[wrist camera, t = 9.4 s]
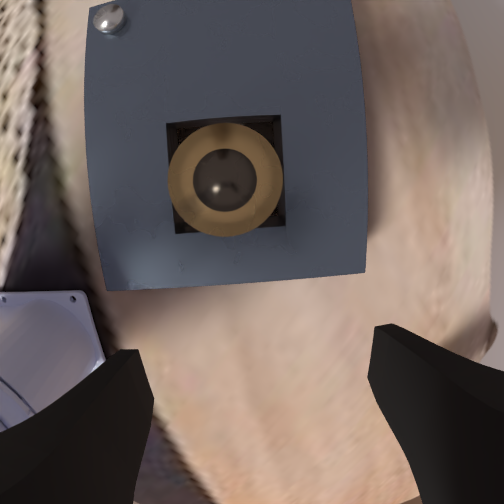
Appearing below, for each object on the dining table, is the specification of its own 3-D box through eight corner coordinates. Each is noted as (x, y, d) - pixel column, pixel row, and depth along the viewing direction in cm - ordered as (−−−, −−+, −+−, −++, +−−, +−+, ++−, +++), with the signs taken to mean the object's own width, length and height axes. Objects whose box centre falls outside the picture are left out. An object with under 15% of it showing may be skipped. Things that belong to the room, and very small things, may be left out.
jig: (123, 272, 19) (101, 297, 15) (107, 25, 14) (83, 2, 10) (347, 256, 19) (370, 278, 15) (333, 9, 14) (353, -18, 11)
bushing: (197, 211, 18) (176, 243, 11) (188, 142, 17) (160, 132, 10) (267, 202, 18) (287, 230, 11) (259, 133, 17) (276, 117, 10)
